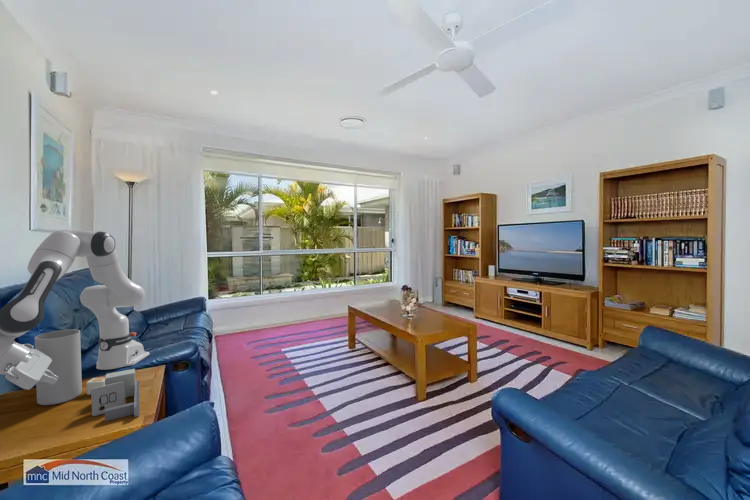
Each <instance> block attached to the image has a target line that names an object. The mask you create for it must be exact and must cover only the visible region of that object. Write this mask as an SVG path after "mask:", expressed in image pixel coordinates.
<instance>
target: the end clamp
mask: <svg viewBox="0 0 750 500" xmlns="http://www.w3.org/2000/svg"><path fill="white" fill-rule="evenodd" d="M132 415H133V416H134V401H133V402H129V403H125V404H124V405H120V406H115V407H111V408H107V409H105V413H104V422H109V421H113V420H117V419H120V418H124V417H128V416H132Z"/></svg>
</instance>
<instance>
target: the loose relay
mask: <svg viewBox="0 0 750 500" xmlns="http://www.w3.org/2000/svg"><path fill="white" fill-rule="evenodd" d="M105 377H106V376H105ZM105 377H93V378H91V379H89V380H88V381H87V382H85V383H86V395H87V396H89V395H91V390H92V389H93V388H97V387H101V386H105Z"/></svg>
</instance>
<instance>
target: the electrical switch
mask: <svg viewBox="0 0 750 500" xmlns="http://www.w3.org/2000/svg"><path fill="white" fill-rule="evenodd" d="M90 396H91V399H90V400H91V416H93V417H96V416H99V415H105V409H107V408H111V407H115V406H120V405H124V404H126V397H125V391H124V382H118V383H114V384H110V385H105V386H101V387H97V388H93V389H92V390H91V394H90ZM101 408H102V409H101Z"/></svg>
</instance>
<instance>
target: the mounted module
mask: <svg viewBox="0 0 750 500" xmlns="http://www.w3.org/2000/svg"><path fill="white" fill-rule="evenodd" d="M135 381H136V369H135V368H132V369H125V370H121V371H120V370H119V371H115V372H109V373H106V374H105V385H110V384H114V383H118V382H124V391H125V398H128V397H133V396H134V393H135Z"/></svg>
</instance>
